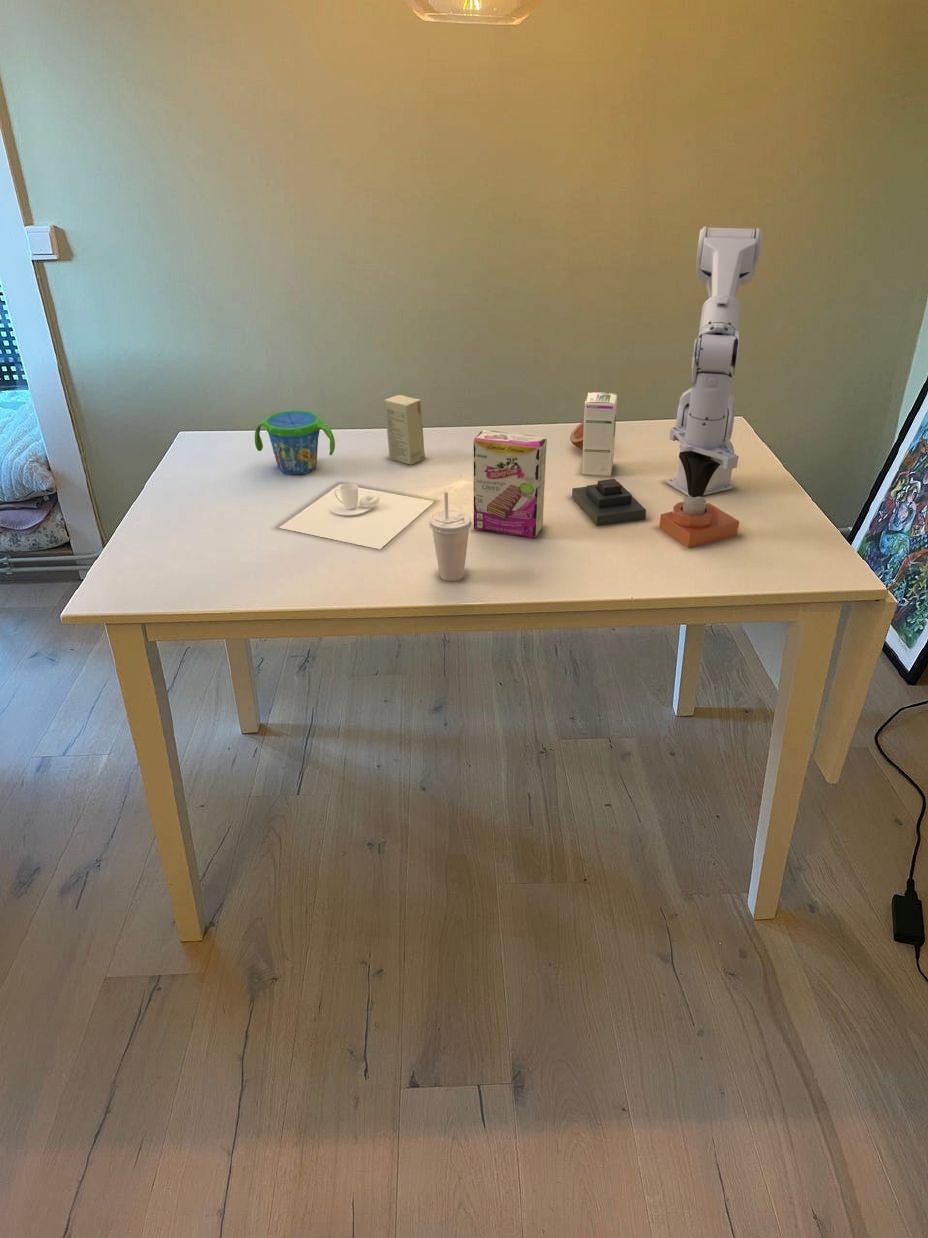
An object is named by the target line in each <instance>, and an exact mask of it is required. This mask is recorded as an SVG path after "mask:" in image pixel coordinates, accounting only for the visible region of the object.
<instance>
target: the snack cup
mask: <svg viewBox="0 0 928 1238" xmlns="http://www.w3.org/2000/svg"><path fill="white" fill-rule="evenodd" d="M262 426H264V428H265V430H266V432H267V433H268V437H269V441H270V445H271V448H272V452H273V455H274V458H275V462H276V464H277V468H278V470H279V471H280V472H281V473H282V474H288V475H296V474H298V475H304V474H305V473H310V472H312V471H313V470H315V469H316V468H317V465H318V449H319V437H320V431H321V430H322V431H323V432H324V434H325V435H326V436H327V438H328V439H329V453H328V454H329V456H332V455H333V454H334V452H335V447H336V440H335V436H334V434H333V431H332V430H331V429H332V428H330V427H329V425H328V424H326V422H324V421H322V420H321V417H320V416H319V414H317V413H316V412H313V411H309V410H302V409H292V410H282V411H278V412H274V413H272V414H270V415H268V416H266V418H265V419H263V420H262V421H260V423H258V424H257V426H256V428H255V431H254V445H255V449H256V450H257V451H258V452H261V451H262V450H263V448H264V444H263V440H262V438H261V428H262Z"/></svg>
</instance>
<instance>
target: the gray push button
mask: <svg viewBox="0 0 928 1238" xmlns="http://www.w3.org/2000/svg"><path fill="white" fill-rule="evenodd" d="M682 502H683V509H682V511H683V512H684V513H686V514H690V515H702V514H704V513H705V507H706V503H707V500H706V499H705V498H704V497H703V496H699V497H695V498H693V497H691V496H685V497H684V498H683V501H682Z"/></svg>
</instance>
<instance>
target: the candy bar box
mask: <svg viewBox="0 0 928 1238" xmlns="http://www.w3.org/2000/svg"><path fill="white" fill-rule="evenodd" d="M547 441H548V438H547V437H545V436H537V435H529V434H522V433H521V434H520V433H514V432H513V433H512V432H505V431H498V430H497V431H496V430H488V429H481V431H480V432H479V433H478V434H477V435H476V436H475V437H474V439H473V530H476V531H480V532H481V531H482V532H488V533H495V534H501V535H502V534H503V535H509V536H516V537H522V538H530V539H536V538H537V537H538V535H539V533H540V531H541V530H542V529H543V526H544V506H545V484H546V483H545V482H546V463H547V462H546V461H547V443H548V442H547Z"/></svg>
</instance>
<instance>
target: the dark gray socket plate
mask: <svg viewBox="0 0 928 1238" xmlns="http://www.w3.org/2000/svg"><path fill="white" fill-rule="evenodd" d="M617 482H618V483H619V484H620V485H621V486H622V488H621V494H615V495H608V496H603V495H602V494H601V493H600V492H599V491H598V490H597V484H587V485H585V486H581V487H573V488H572V489H571V499H572V500H573V501H574V502H575V504H577V505H578V507H579V508H580V509H581V510H582V511H583V512H584V514H585V515H586V516H587V518H589V520H591V522H592V523H593V524H594V525H595V526H596V527H599V526H606V525H614V524H621V523H629V522H636V521H643V520H646V517H647V516H646V514H647V509H646V508H645V507H644V506H643V505H642V504H641V503H640V502H639V501H638V500H637V499H636V498H635V497H634V496H633V495H632V494H631V493H630V491H629V490H627V488H625V487H624V486H623V485H622V484H621V483H620V482H619V481H617Z"/></svg>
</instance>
